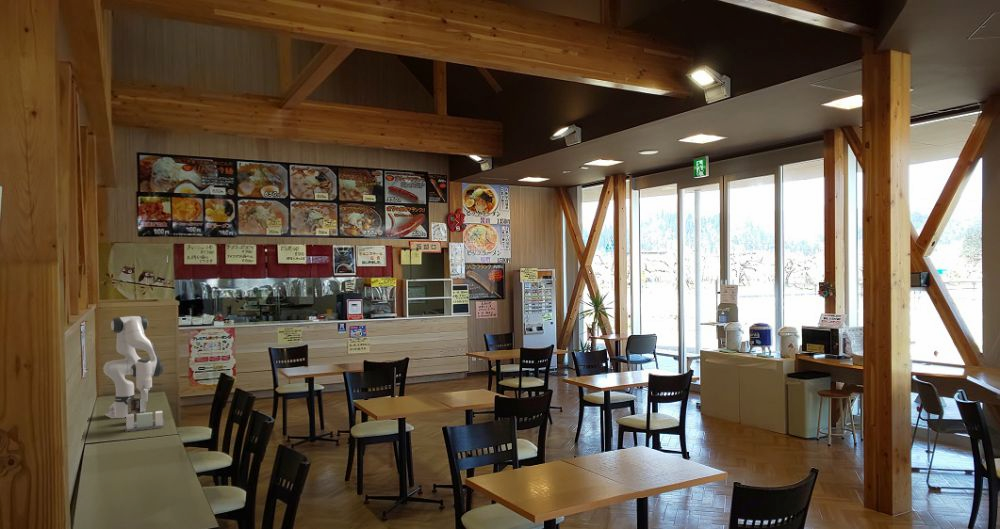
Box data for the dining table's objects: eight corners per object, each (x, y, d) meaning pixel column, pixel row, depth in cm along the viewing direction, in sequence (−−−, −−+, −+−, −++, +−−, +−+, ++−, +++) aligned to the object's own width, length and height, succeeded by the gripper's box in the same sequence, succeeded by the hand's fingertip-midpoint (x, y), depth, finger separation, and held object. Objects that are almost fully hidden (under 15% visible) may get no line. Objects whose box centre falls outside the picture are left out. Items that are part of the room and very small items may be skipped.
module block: (136, 426, 422) (136, 413, 422) (152, 424, 426) (152, 412, 426) (136, 427, 418) (136, 415, 418) (152, 426, 422) (152, 413, 422)
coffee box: (146, 421, 441) (146, 397, 441) (140, 423, 435) (140, 399, 435) (133, 421, 442) (133, 397, 442) (127, 423, 436) (127, 398, 436)
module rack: (126, 429, 421) (125, 413, 421) (163, 424, 431) (163, 410, 431) (125, 432, 413) (125, 416, 413) (163, 427, 423) (163, 412, 423)
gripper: (149, 387, 414) (150, 409, 414) (149, 381, 432) (150, 403, 432) (138, 388, 411) (138, 410, 411) (138, 382, 429) (138, 404, 429)
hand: (144, 406), depth 422 cm, fingers open, 8 cm apart
